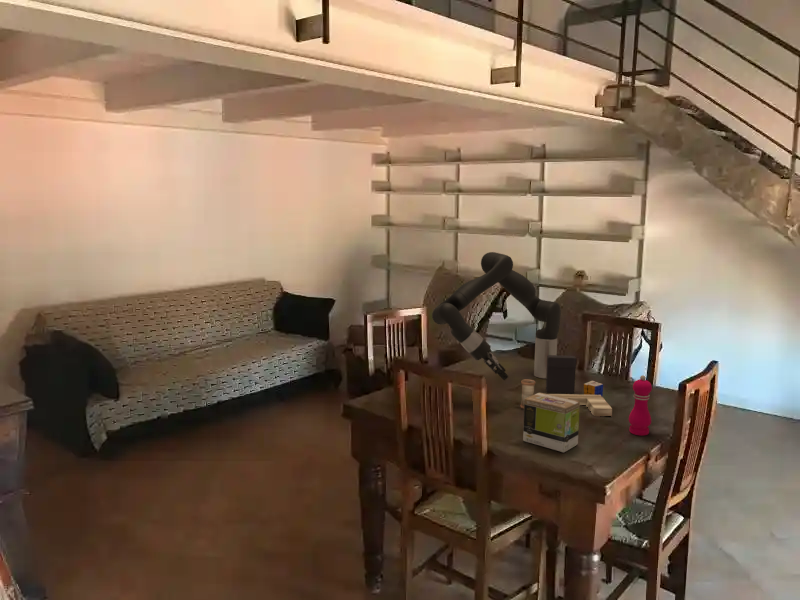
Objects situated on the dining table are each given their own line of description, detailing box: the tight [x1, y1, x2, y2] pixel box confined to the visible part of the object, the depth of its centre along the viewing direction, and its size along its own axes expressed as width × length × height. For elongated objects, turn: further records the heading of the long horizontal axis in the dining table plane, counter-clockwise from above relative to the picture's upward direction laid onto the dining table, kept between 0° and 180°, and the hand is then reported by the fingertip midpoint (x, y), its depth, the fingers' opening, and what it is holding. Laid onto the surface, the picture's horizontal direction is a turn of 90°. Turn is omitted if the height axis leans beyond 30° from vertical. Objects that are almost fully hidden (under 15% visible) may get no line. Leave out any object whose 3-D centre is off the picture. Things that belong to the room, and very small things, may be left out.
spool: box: [519, 379, 536, 410], centre depth 248 cm, size 5×5×10 cm
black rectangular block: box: [545, 354, 577, 394], centre depth 266 cm, size 11×4×15 cm, turn 84°
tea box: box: [522, 392, 581, 453], centre depth 213 cm, size 15×10×15 cm
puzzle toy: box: [583, 380, 604, 397], centre depth 262 cm, size 6×5×6 cm
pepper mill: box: [628, 374, 653, 437], centre depth 223 cm, size 7×7×20 cm
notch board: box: [548, 393, 613, 418], centre depth 247 cm, size 16×20×3 cm
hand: (505, 375), depth 247 cm, fingers open, 8 cm apart
